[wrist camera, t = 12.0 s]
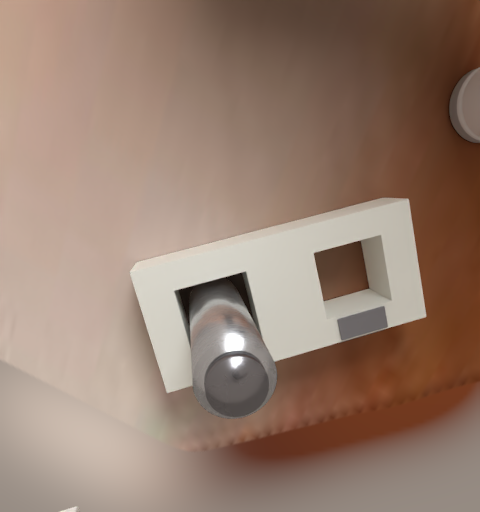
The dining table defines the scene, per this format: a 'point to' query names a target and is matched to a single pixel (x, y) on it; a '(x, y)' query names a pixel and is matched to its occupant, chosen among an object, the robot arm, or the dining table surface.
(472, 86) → the travel mug
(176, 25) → the dining table surface
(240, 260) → the socket board
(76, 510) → the robot arm
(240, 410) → the plug
